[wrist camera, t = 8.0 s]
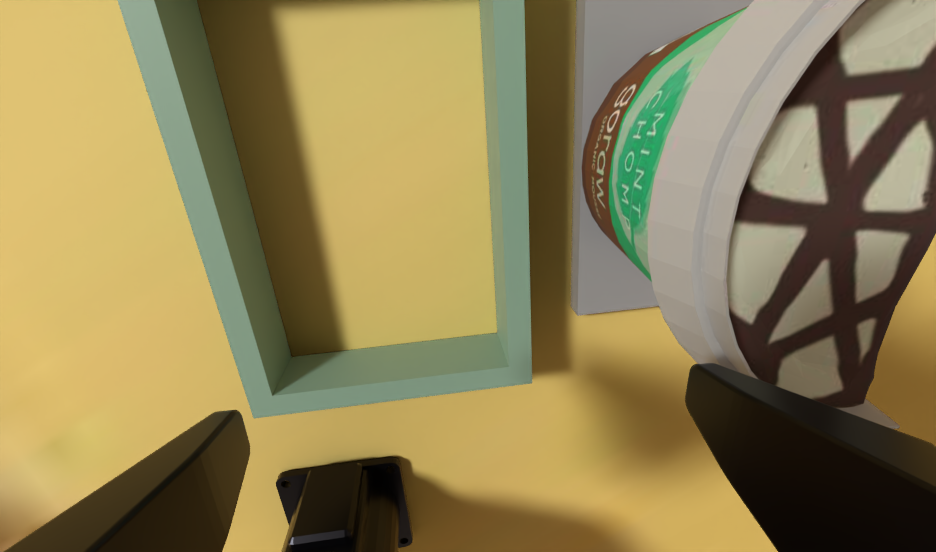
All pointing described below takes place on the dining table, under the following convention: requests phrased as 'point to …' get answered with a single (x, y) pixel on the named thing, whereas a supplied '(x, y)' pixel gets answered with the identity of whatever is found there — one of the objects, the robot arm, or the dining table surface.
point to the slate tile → (596, 70)
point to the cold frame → (242, 257)
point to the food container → (777, 185)
